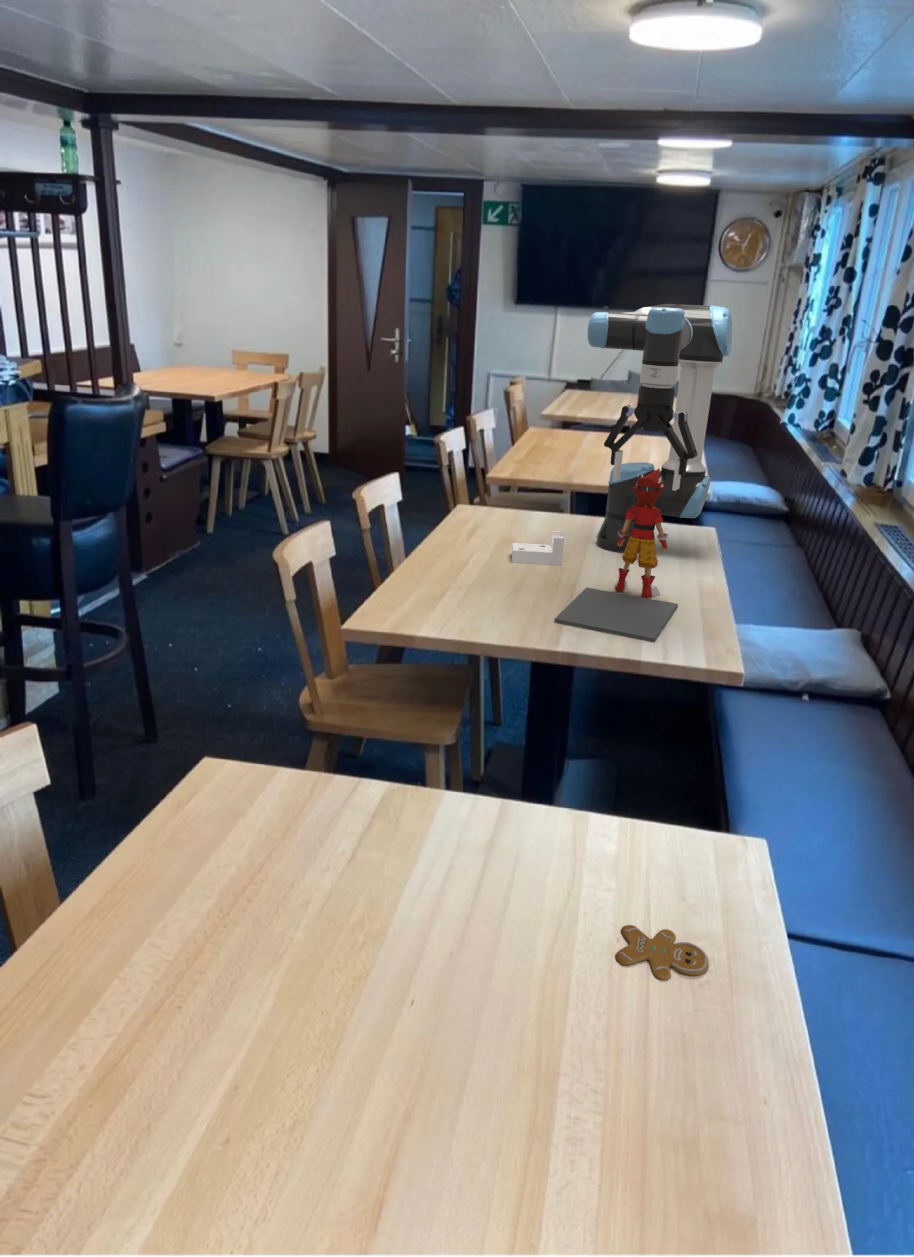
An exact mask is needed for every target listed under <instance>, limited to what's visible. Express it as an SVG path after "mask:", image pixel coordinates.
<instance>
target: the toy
mask: <svg viewBox="0 0 914 1257" xmlns="http://www.w3.org/2000/svg"><path fill="white" fill-rule="evenodd" d="M660 468H661V467H660ZM660 468H658V469H654V470H655V471H653V472H652V473H650V474H648V475H646V476H644V477H643V475H642V477H640V474H639V477H638V480H637V484H636V485H637V486H636V487H632V488H633V490H634V492H635V494H636V496H637V498H638V500H637V504H636V505H635V506H633V507H631V508H629V509H627V513H626V517H625V519H626V520H625V524H624V527H623V528H622V529H621V530H620V531H619V532H617V533H618V535H619V540H618V543H617V545H618V546H619V547H620V546H622V545H623V542H624V538H625V537H626V536H627V535H628V534H629V533H628V528H629V526H630V524H631V521H632V519H633V520H634V521H635V522H634V527H633V530H632V532H631V535H630V537H629V540H628V543H627V546H626V548H625V551H624V552H622V556H621V558H622V561H623V562H624V565H623V568H622V567H619V568H618V573H619V574H618V580H617V581H616V582H615V583H614V589H615V591H616V592H620V593H622V592H624V590H625V589H626V588H627V587H628V582H627V580H628V579H626V578H627V576H628V574H629V572H630V571H631V570H630V569H629V568H630V564H631V565H634V563H635V562H637V565H638V568H644V574H643V575H640V578H641V580H642V581H641V582H642V588H641V594H640V597H643V598H649V599H652V598H653V597H657V596H660V590H659V589H658V587H657V586H656V585H653V584H654V583H653V582H654V580H655V578H656V576H655V575H652V574H651V573H652V569H655V568H657V567H658V566H659V565H658V564H659V563H658V562H659V561H658V558H657V549H656V539H657V540H658V542H659V543H660V549H661V553H663V552H665V551H666V550H668V544H667V540H668V537H669V536H668V535H669V534H668V533H665V532H664V528H663V526H662V523H663V522H664V519H663V516H662V514H661V512H660V509H658V508H656V507H653V505H654V503H655V501H656V499H657V497H658V496H659V494H660V493H661V491H662V489H663V488H664V486H663V484H662V483H663V481H662V482H660V481H661V478H662V476H661V477H660V478H659V471H661V470H660ZM641 504H643V505H641ZM655 529H656V531H657V532H658V534H657V535H656V537H655ZM655 538H656V539H655ZM639 548H640V550H639ZM638 550H639V552H638Z"/></svg>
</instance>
